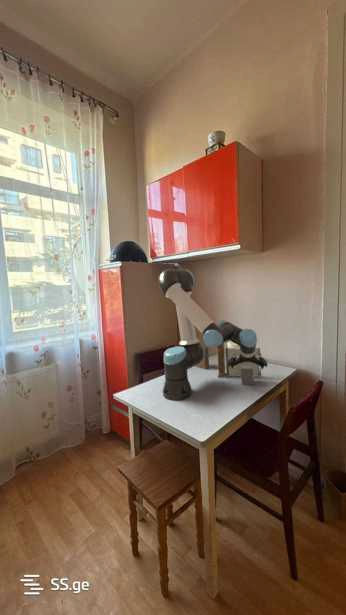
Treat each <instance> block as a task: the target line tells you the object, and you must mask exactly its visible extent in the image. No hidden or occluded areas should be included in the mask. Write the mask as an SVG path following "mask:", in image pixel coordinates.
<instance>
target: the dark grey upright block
mask: <svg viewBox="0 0 346 615" xmlns="http://www.w3.org/2000/svg"><path fill="white" fill-rule="evenodd" d="M240 377H241V385H244V386H254V376H253V367H252V365H241V376H240Z"/></svg>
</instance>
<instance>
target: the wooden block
mask: <svg viewBox="0 0 346 615" xmlns="http://www.w3.org/2000/svg"><path fill="white" fill-rule="evenodd" d="M204 350H205V357H204V359H203V361H202V362H200V363H199V364H198V365H195V366H194V367H198V368H201V369H204V370H208V369H210V358H209V357H210V356H209V346H207V347H204Z"/></svg>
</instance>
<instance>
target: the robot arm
mask: <svg viewBox="0 0 346 615" xmlns="http://www.w3.org/2000/svg"><path fill="white" fill-rule="evenodd" d="M195 281H196V280H195V275H194V274H193V273H192V272H191V271H190V270H189V269H185V268H167V269H164V270H163V271H162V272H160V274H159V275H158V279H157V285H158V287H159V290H160V292H161V293H162V294H163V296H164V297H165V298H167V299H170V300H171V301H172V302H173V304H175V308H176V315H177V316H176V317H177V322H178V323H177V324H178V328H179V336H180V341H179V343H178V346H174V347H169V348H167V349H166V350H165V351H164V352H163V367H164V379H165V380H164V383H163V387H162V388H163V389H162V396H163V397H164V398H165V399H168V400H172V401H182V400H184V399H188V398H189V397H191V396H192V394H193V388H192V385H191V384H190V380H189V379H188V370H190V369H191V368H193V367H196V366H195V365H198V364H199V363H200V362H202V361H203V359H204V357H205V350H204V348H205V347H204V346H203V345H202V344H201V341H200V339H198V338H197V333H196V329H197V330H198V331H199V332H200V333H201V335H203V337H202V338H203V341H204V344H205V345H206V346H207V347H208V348H215V347H217V346H219V345H221V344H222V343H224V344H225V343H226V342H227V343H228V342H233V343H235V344H237V345H239V346H240V355H239V356H236V354H234V355H233V357H232V358H231V359H230V360H229V361H228V366H231V368H233V369H234V372H235V365H237V364H239V363H243V362H252V363H255V364H257V365H259V373H261V374H262V369H264V368H265V367H268V361H267V360H266V359H265V358H264V357H263V356H262V354H261V353H260V354H259V355H258V356H256V355H255V353H256V348H257V342H258V338H257V333H256V331H254V330H253V329H251V328H244V329H242V328H240V327H238V326H237V325H235V324H233V323H232V322H230V321H227V320H225V319H223V320H221V321H220V322H219V323H218V324H216V323H215V322H214V321H213V320H212V318H210V316H208V314H207V313H205V312H204V311H205V310H203V309H202V308H201V307H200V306H199V305H198V304H197V303H196V302H195V301H194V299H192V298H191V295H192V293H193V288H194V285H195ZM195 327H196V328H195Z"/></svg>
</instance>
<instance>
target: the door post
mask: <svg viewBox="0 0 346 615" xmlns="http://www.w3.org/2000/svg"><path fill="white" fill-rule="evenodd" d="M216 347H217V361H218V364H217V365H218V366H217V367H218V372H217V378H222V379H224V378H226V379H227V376H228V375H227V372H226V356H225V342H224V343H222V344H221V345H219V346H216Z"/></svg>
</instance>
